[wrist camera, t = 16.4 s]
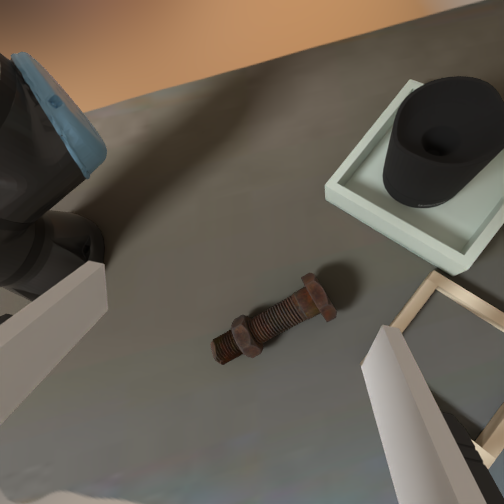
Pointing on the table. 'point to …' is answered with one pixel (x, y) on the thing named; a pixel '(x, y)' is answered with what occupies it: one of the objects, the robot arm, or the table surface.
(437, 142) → the pen holder
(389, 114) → the bin
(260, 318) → the bolt
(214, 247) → the table surface
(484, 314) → the square wooden frame
